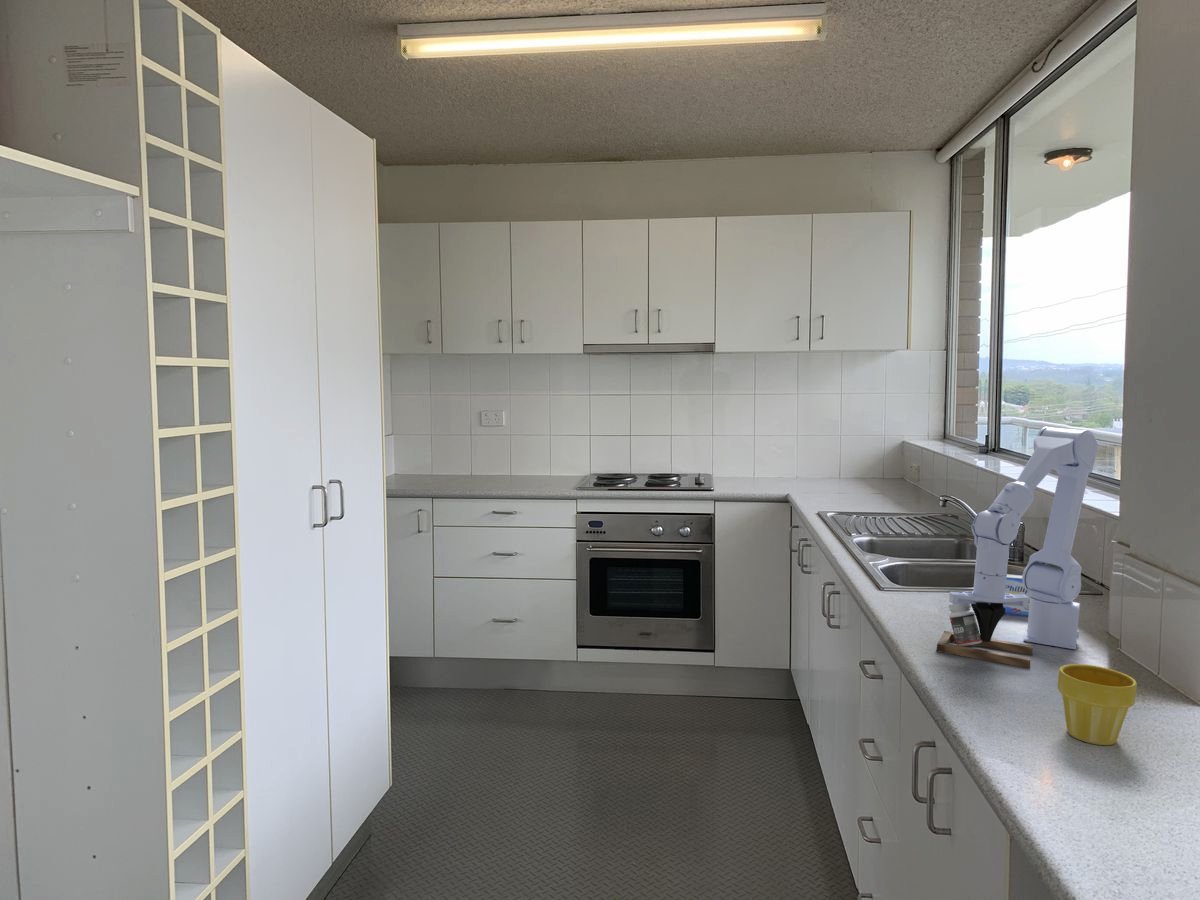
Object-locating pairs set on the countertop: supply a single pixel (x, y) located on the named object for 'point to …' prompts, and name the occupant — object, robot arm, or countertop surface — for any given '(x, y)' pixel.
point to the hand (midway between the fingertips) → (985, 640)
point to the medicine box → (1016, 587)
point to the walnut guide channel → (988, 655)
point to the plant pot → (1095, 701)
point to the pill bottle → (964, 624)
